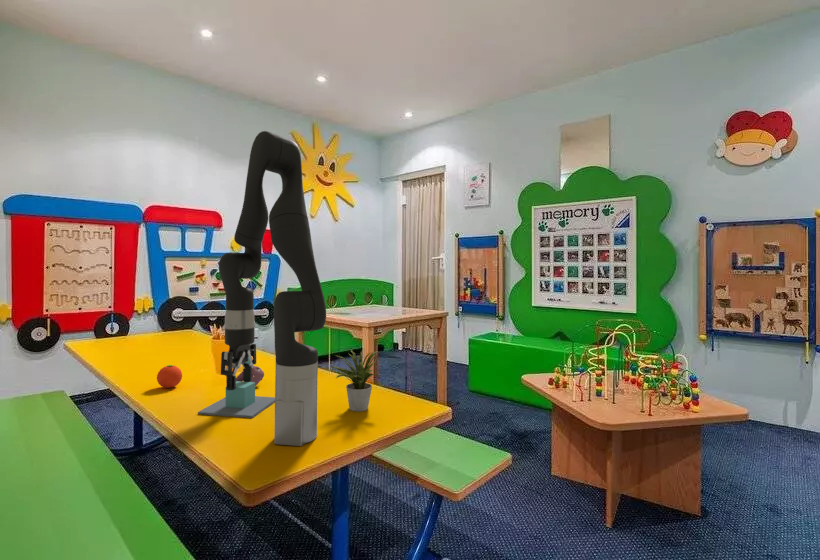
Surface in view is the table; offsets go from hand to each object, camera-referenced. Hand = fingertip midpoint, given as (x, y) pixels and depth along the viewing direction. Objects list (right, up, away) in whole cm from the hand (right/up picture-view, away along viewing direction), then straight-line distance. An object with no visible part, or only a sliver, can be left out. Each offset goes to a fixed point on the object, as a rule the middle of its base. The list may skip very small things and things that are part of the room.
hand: (239, 385), depth 113 cm
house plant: (+32, -7, +3) cm, 33 cm away
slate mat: (0, -6, +1) cm, 6 cm away
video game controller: (-6, -6, +22) cm, 24 cm away
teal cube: (0, -5, +1) cm, 5 cm away
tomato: (-29, -5, +17) cm, 34 cm away
